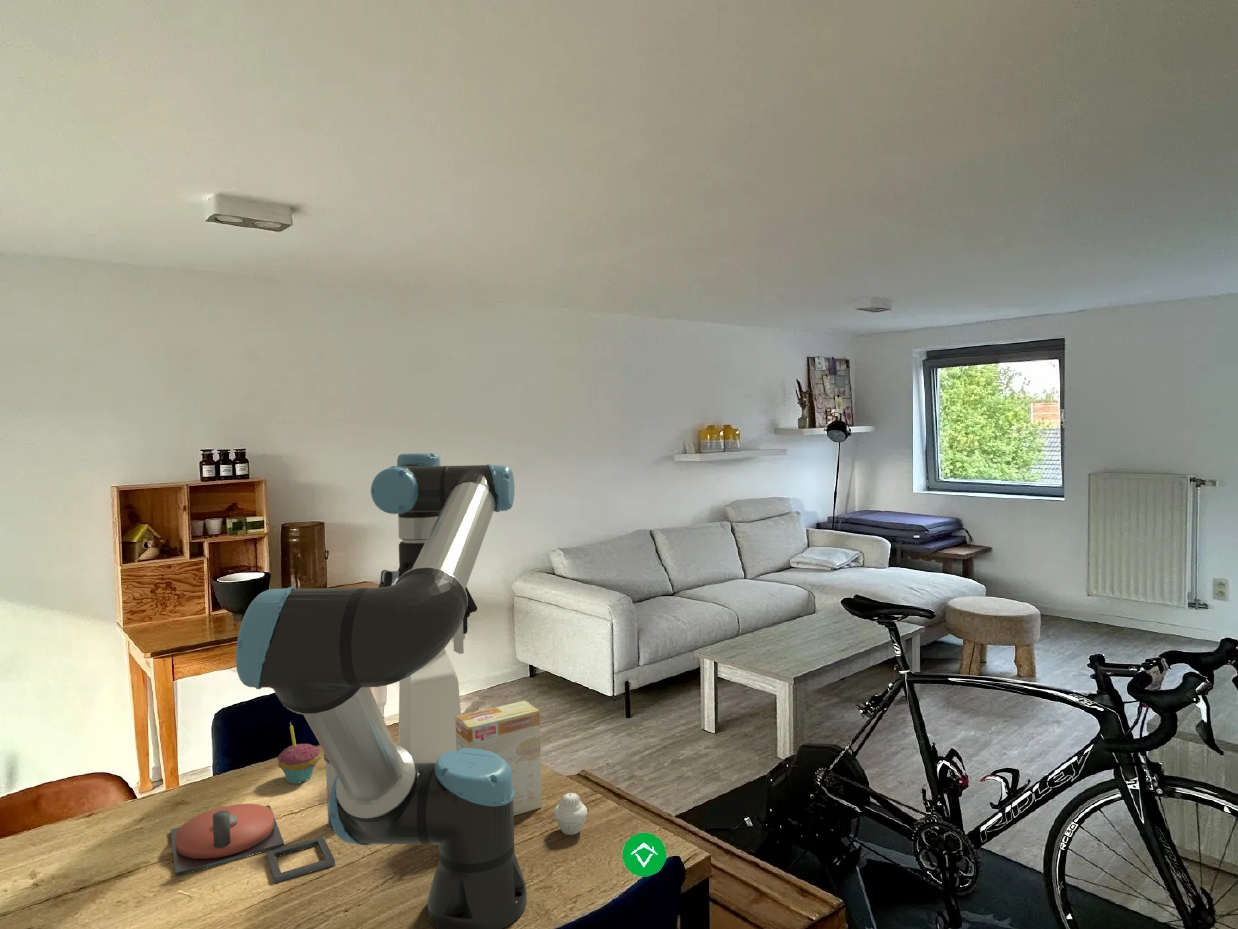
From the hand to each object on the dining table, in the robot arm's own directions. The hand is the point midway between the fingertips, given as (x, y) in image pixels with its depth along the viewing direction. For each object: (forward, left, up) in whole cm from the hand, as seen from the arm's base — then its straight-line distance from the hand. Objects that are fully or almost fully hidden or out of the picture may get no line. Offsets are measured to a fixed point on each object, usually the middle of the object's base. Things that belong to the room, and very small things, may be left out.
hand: (423, 658), depth 141 cm
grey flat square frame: (+6, +21, -33) cm, 40 cm away
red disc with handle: (+21, +31, -33) cm, 50 cm away
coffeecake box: (+3, -15, -34) cm, 37 cm away
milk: (+35, -12, -34) cm, 50 cm away
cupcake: (+40, +15, -34) cm, 54 cm away
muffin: (-11, -23, -34) cm, 42 cm away
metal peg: (+15, +12, -33) cm, 38 cm away
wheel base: (+21, +31, -33) cm, 50 cm away
